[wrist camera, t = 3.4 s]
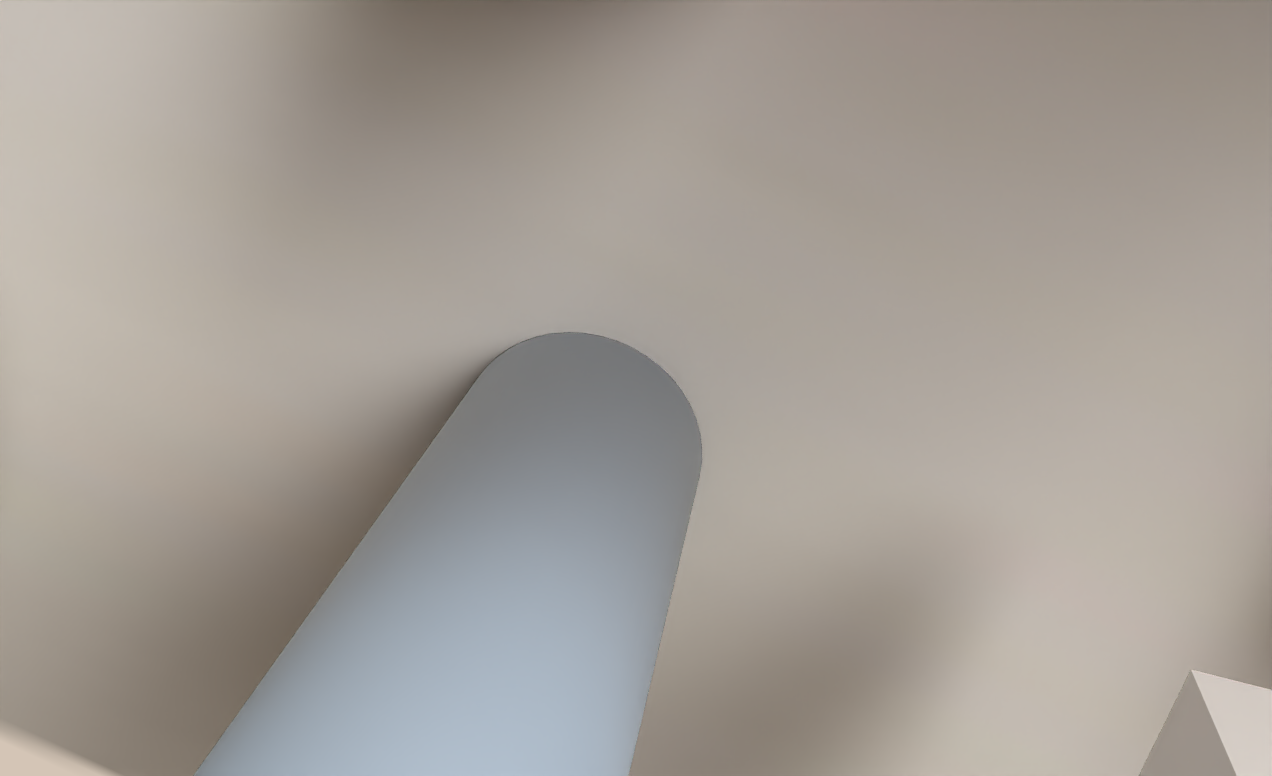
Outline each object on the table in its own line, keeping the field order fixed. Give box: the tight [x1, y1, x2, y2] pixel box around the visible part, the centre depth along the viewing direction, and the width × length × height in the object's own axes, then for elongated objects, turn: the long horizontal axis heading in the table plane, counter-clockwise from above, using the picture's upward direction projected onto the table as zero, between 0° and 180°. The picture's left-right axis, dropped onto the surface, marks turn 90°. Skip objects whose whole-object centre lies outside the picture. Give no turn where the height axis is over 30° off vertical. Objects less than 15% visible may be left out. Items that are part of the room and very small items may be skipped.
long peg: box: [193, 332, 702, 776], centre depth 10 cm, size 3×3×12 cm
